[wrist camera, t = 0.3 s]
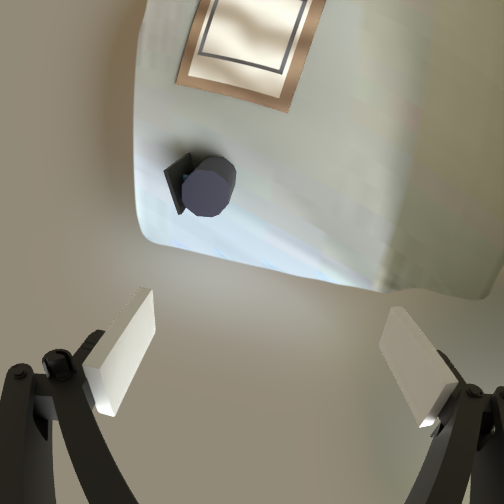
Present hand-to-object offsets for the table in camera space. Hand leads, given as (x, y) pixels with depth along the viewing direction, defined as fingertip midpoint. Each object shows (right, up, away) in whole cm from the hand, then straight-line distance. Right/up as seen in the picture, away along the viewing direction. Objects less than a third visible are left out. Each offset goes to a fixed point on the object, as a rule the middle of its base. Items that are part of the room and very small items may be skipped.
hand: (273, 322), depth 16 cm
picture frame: (-1, +32, +14) cm, 34 cm away
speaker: (-6, +15, +25) cm, 29 cm away
